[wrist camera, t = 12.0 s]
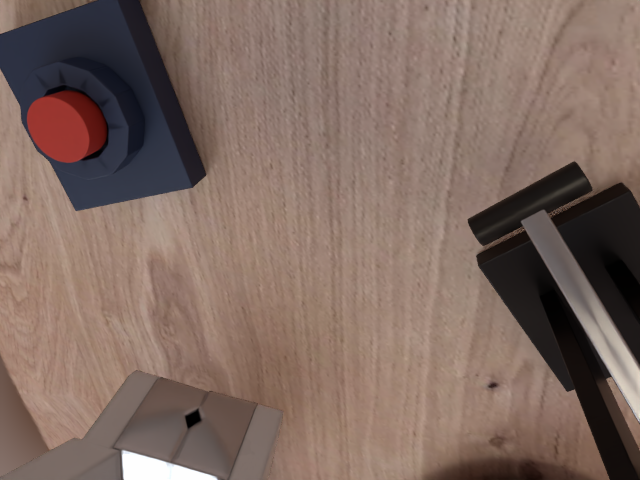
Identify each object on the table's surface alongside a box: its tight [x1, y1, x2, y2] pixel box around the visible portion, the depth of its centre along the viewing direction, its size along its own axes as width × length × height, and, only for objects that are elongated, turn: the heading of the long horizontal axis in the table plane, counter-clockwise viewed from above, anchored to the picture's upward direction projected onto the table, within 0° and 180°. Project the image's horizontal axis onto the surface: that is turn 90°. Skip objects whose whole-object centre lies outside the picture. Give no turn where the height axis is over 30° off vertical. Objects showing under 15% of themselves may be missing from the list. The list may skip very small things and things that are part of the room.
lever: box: [468, 161, 640, 424], centre depth 19 cm, size 15×5×2 cm
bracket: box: [476, 183, 640, 480], centre depth 23 cm, size 12×9×16 cm
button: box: [27, 90, 107, 163], centre depth 26 cm, size 4×4×2 cm
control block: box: [0, 0, 206, 211], centre depth 28 cm, size 11×9×4 cm
